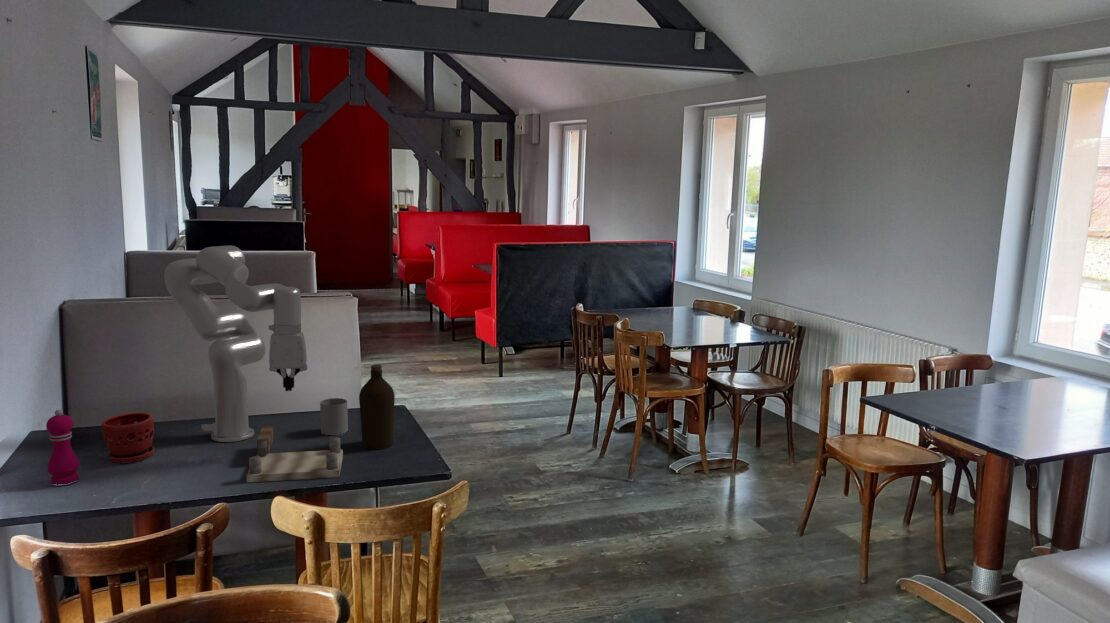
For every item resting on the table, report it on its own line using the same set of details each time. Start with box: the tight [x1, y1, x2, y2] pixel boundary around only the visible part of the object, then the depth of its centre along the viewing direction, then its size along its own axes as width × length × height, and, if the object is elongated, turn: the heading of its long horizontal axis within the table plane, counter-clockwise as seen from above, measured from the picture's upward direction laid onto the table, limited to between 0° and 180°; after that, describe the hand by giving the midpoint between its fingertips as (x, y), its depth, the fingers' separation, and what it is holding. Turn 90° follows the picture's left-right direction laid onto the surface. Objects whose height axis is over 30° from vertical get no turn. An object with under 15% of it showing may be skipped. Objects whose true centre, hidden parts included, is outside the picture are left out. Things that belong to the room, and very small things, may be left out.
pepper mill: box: [46, 408, 80, 485], centre depth 206 cm, size 7×7×20 cm
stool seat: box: [246, 436, 344, 483], centre depth 220 cm, size 24×17×6 cm
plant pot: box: [101, 412, 155, 464], centre depth 226 cm, size 13×13×12 cm
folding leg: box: [256, 425, 275, 455], centre depth 230 cm, size 15×3×4 cm, turn 14°
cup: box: [319, 397, 349, 436], centre depth 253 cm, size 8×8×10 cm
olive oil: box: [358, 364, 396, 450], centre depth 240 cm, size 11×11×25 cm
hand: (288, 389), depth 232 cm, fingers closed
